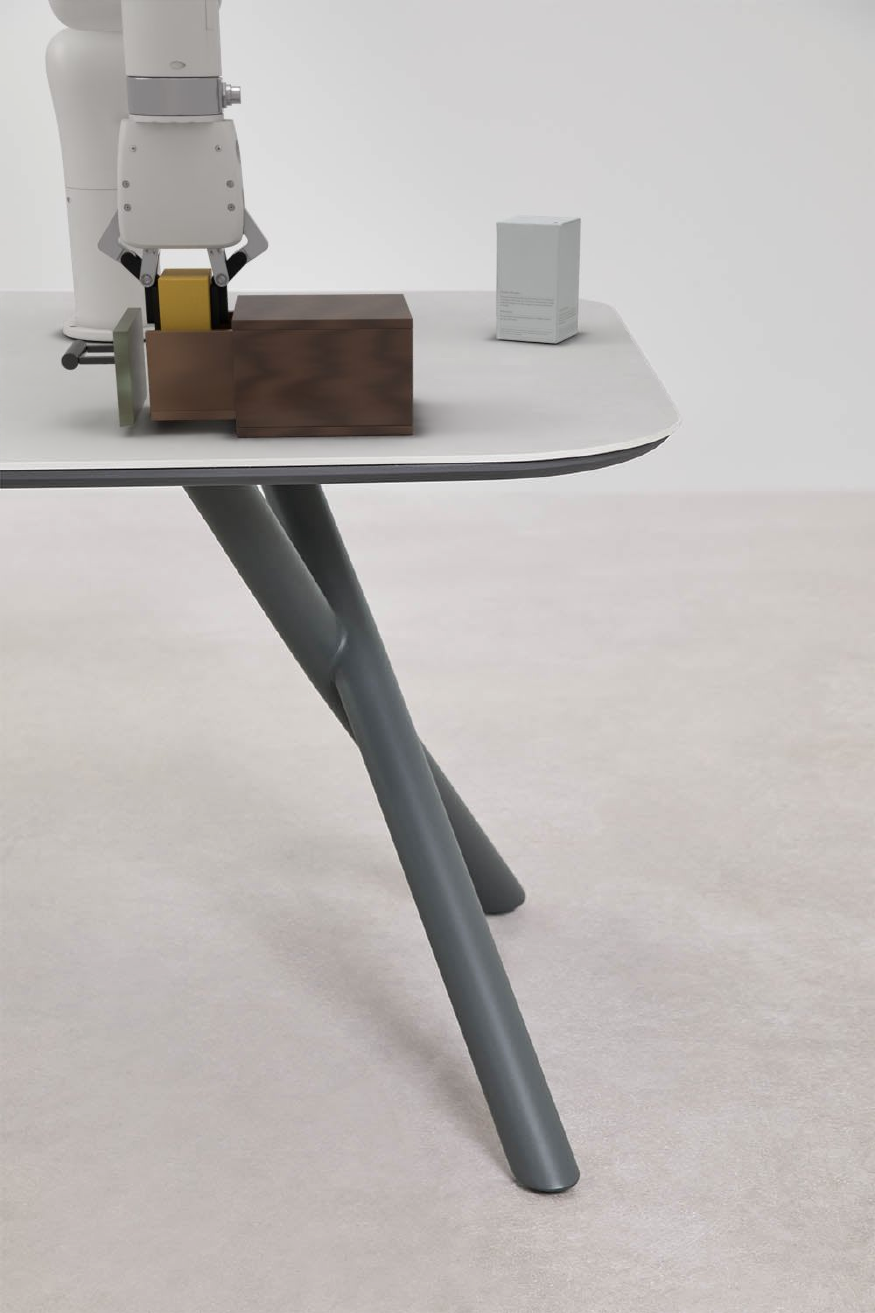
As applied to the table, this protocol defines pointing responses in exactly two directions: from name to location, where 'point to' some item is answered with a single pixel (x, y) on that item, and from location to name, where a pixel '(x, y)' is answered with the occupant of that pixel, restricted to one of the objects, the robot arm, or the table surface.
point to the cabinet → (323, 365)
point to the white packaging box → (537, 278)
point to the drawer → (166, 370)
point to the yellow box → (185, 299)
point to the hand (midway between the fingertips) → (188, 330)
